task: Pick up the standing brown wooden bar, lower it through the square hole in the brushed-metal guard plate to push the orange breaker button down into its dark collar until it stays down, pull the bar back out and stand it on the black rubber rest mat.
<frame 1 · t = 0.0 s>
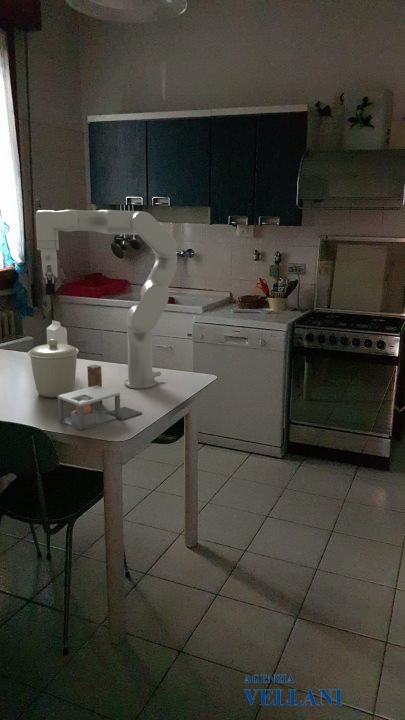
hand: (50, 292, 215), 37 cm above the table, tool pointing down, fingers open, 9 cm apart
brown wooden bar: (95, 404, 209), on the table
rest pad: (123, 413, 199), on the table
milk: (58, 372, 248), on the table
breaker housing: (90, 419, 194), on the table
breaker button: (83, 407, 188), point 6 cm above the table, slide at 0.0 cm
canister: (55, 394, 219), on the table
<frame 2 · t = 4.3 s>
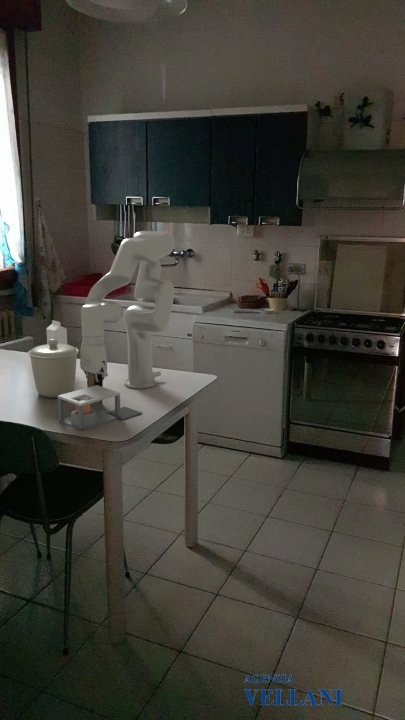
hand: (95, 389, 207), 5 cm above the table, tool pointing down, fingers closed on brown wooden bar, 3 cm apart
brown wooden bar: (95, 404, 209), on the table, touching gripper
everything else where it was.
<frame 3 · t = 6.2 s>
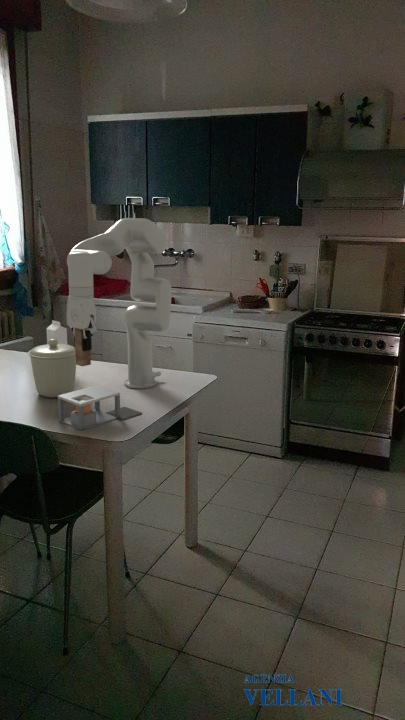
hand: (83, 348, 187), 24 cm above the table, tool pointing down, fingers closed on brown wooden bar, 3 cm apart
brown wooden bar: (83, 364, 188), point 19 cm above the table, touching gripper
everything else where it was.
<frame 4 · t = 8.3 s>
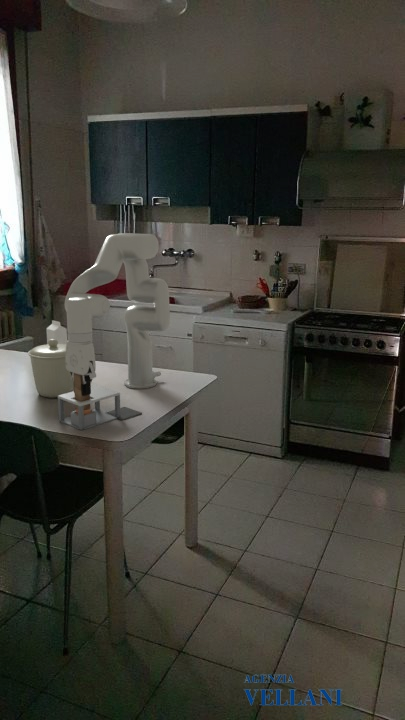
hand: (82, 392, 187), 11 cm above the table, tool pointing down, fingers closed on brown wooden bar, 3 cm apart
brown wooden bar: (82, 408, 188), point 5 cm above the table, touching breaker button, gripper
breaker button: (83, 414, 189), point 3 cm above the table, slide at -2.3 cm, touching brown wooden bar
everything else where it was.
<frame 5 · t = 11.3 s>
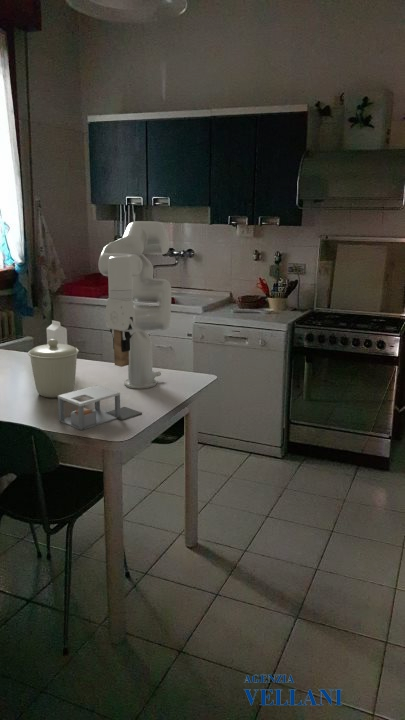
hand: (121, 349, 193), 23 cm above the table, tool pointing down, fingers closed on brown wooden bar, 3 cm apart
brown wooden bar: (121, 364, 194), point 17 cm above the table, touching gripper
breaker button: (83, 415, 189), point 3 cm above the table, slide at -2.6 cm
everything else where it was.
when the fingers open (7 cm above the table, at t = 13.9 s): brown wooden bar drops 1 cm, resting on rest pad.
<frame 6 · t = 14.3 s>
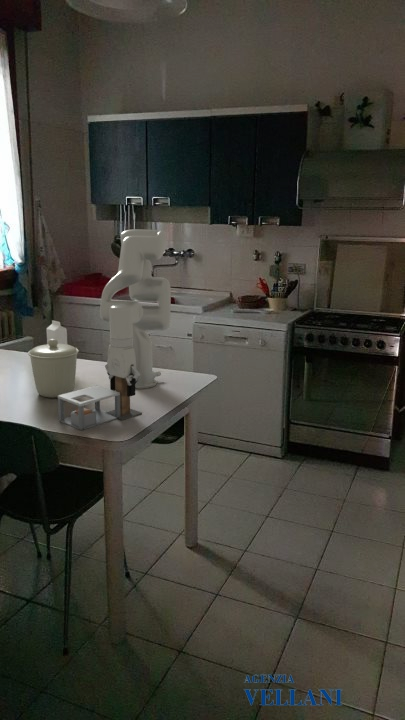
hand: (122, 392, 197), 8 cm above the table, tool pointing down, fingers open, 8 cm apart
brown wooden bar: (123, 412, 199), resting on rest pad
everything else where it was.
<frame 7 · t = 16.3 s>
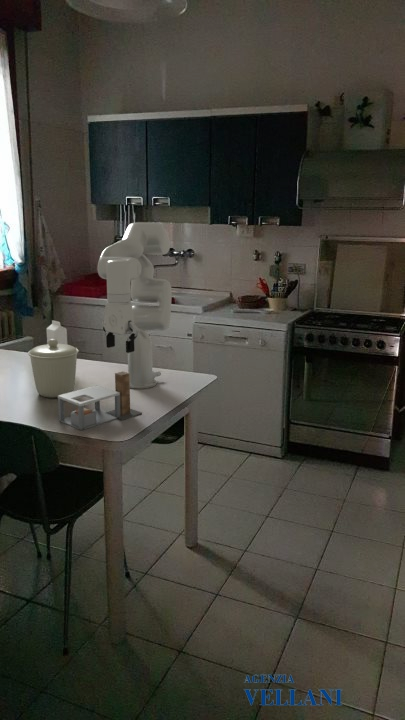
hand: (120, 349, 194), 22 cm above the table, tool pointing down, fingers open, 9 cm apart
nothing on the table moved.
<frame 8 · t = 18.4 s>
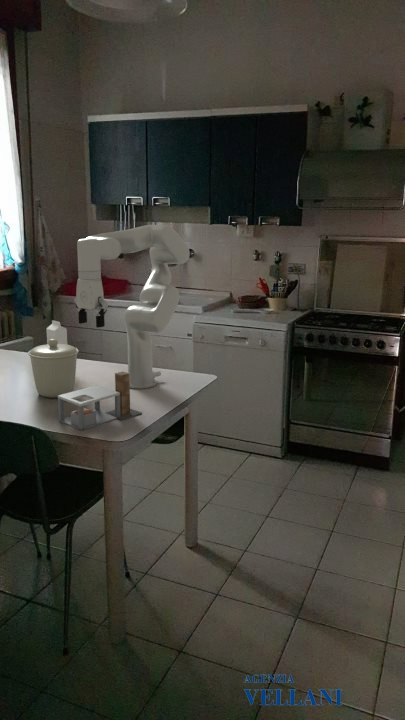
hand: (91, 324, 203), 28 cm above the table, tool pointing down, fingers open, 9 cm apart
nothing on the table moved.
at the end: breaker button slide at -2.6 cm; brown wooden bar 0.1 cm from the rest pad (horizontally); brown wooden bar tilted 0° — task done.
